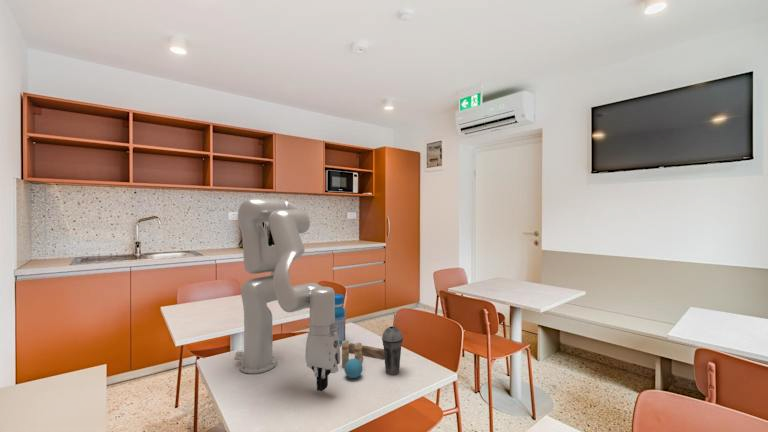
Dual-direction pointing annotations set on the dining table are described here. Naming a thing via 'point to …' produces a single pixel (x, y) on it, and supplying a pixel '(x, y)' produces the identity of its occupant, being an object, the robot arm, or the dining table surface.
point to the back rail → (368, 351)
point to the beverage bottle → (340, 317)
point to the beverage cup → (392, 349)
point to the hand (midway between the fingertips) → (322, 388)
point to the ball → (353, 368)
